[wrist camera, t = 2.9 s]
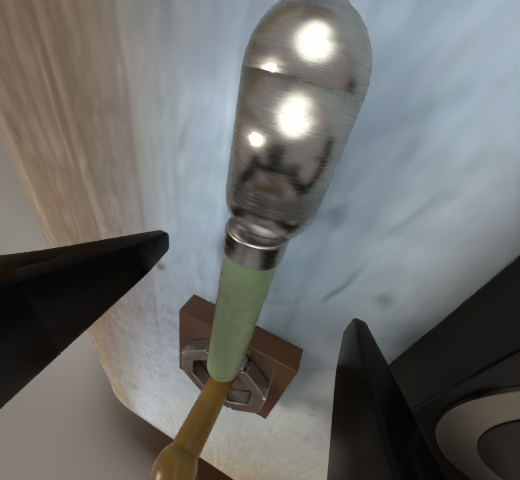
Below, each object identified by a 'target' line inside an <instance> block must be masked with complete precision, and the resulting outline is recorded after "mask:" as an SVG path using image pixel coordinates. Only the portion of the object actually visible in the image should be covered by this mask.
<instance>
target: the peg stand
mask: <svg viewBox="0 0 520 480" xmlns="http://www.w3.org/2000/svg"><path fill="white" fill-rule="evenodd" d="M214 312H215V305H213V304H211V303H209V302H207V301H205V300H203V299H201V298H199V297H197V296H195V295H193V296H192V297H191V298H190V299H189V300H188V302H187V303H186V304H185V305H184V306H183V307H182V308H181V309H180V311H179V318H180V369H182V370H184V369H183V368H182V351H183V350H184V349H185V347H186V346H187V345H188V343H189V342H190V341H191V340H198V339H211V332H212V326H213V319H214ZM302 352H303V350H302V349H300V348H298V347H296V346H294V345H292V344H290V343H288V342H286V341H284V340H282V339H280V338H278V337H276V336H274V335H272V334H270V333H268V332H266V331H264V330H262V329H260V328H258V327H256V326H255V329H254V332H253V335H252V338H251V341H250V343H249V346H248V349H247V352H246V356H248V360H253V362H254V363H255V364H256V366H257V367H258V368H259V370H260V371H261V372H262V374H263V375H264V377H265V378H266V379H267V381H268V382H269V384H270V385H269V386H270V390H269V393H268V396H267V399H266V401H265V403H264V405H263V406H262V408H261V410H260V411H259V413H257V412H256V414H258V415H260V416H261V417H263V418H265V419H266V417H267V416H268V415H269V413H270V412H271V410H272V409H273V407H274V406H275V404H276V403H277V402H278V400H279V399H280V397H281V396H282V394H283V393H284V391H285V390H286V389H287V387H288V386H289V384H290V383H291V381H292V380H293V378H294V377H295V376H296V374H297V373H298V369H299V365H300V360H301V356H302ZM199 362H200V364H201V365H202V366H203V367H204V368H205V370H206V371H207V372H208V369H207V360H199ZM208 373H209V372H208ZM230 389H233V390H238V391H247V392H250V391H249V389H248V388H247V387H246V386H245V384H244V383H243V382H242V380H241V379H240V378H239V377H238V375H237V376H236V377H235V378H234V379H233V380H231V381H228V382H219V381H216V380H215V379H213V378H212V377H211V376H210V377H209V379H208V381H207V382H206V384H205V386H204V388H203V389H202V391H201V393H200V395H199V397H198V398H197V400H196V402H195V404H194V405H193V407H192V409H191V411H190V412H189V414H188V416H187V418H186V419H185V421H184V423H183V425H182V427H181V428H180V430H179V432H178V434H177V435H176V437H175V439H174V441H173V443H172V444H170V445H168V446H167V447H166V448H164V449H163V450H162V452H161V453H160V454H159V456H158V457H157V459H156V461H155V463H154V465H153V468H152V471H151V476H150V480H195V477H196V473H197V460H198V458H199V456H200V454H201V452H202V449H203V447H204V445H205V443H206V441H207V439H208V436H209V434H210V432H211V430H212V428H213V426H214V424H215V421H216V419H217V417H218V415H219V413H220V411H221V408H222V406H223V404H224V402H225V400H226V398H227V396H228V393H229V391H230Z"/></svg>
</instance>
